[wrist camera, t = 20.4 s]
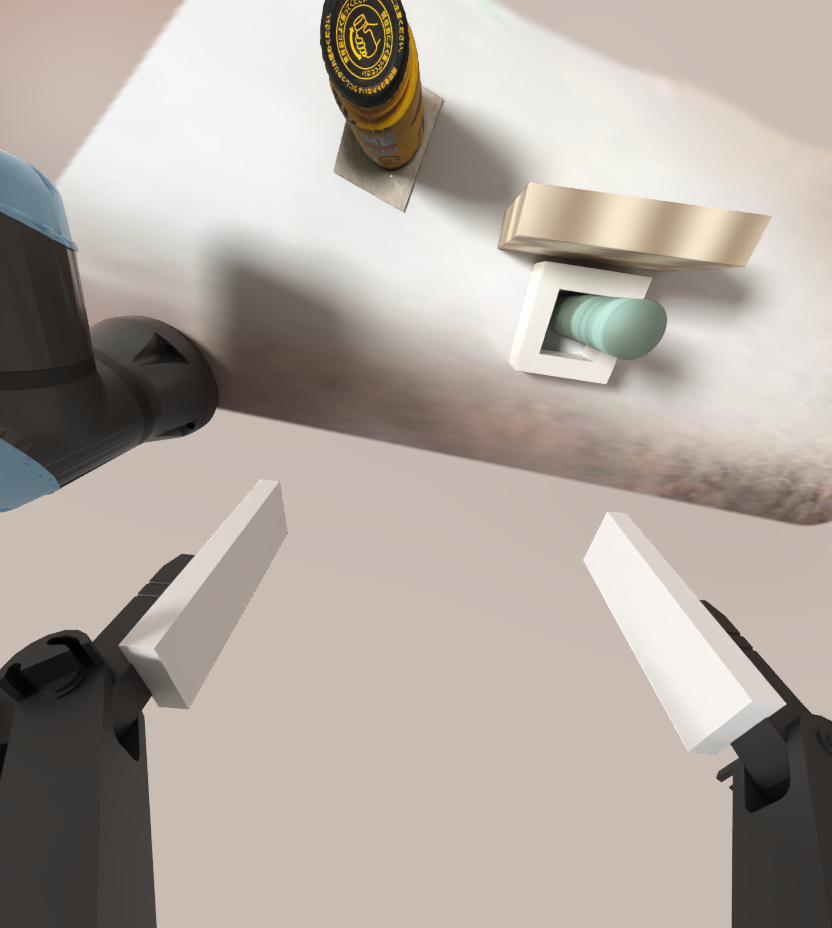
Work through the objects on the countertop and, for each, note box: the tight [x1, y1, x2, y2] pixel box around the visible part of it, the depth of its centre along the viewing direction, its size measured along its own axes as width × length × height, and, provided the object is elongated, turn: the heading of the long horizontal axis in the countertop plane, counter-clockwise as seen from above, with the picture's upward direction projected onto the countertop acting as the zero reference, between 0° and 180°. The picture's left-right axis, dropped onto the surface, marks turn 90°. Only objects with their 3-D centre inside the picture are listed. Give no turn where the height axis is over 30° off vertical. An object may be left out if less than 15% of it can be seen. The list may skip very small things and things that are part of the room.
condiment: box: [320, 0, 443, 212], centre depth 24 cm, size 7×8×12 cm
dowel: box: [549, 294, 667, 360], centre depth 29 cm, size 4×4×14 cm
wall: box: [498, 182, 772, 271], centre depth 27 cm, size 17×3×10 cm, turn 83°
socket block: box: [508, 261, 653, 384], centre depth 34 cm, size 10×10×4 cm
